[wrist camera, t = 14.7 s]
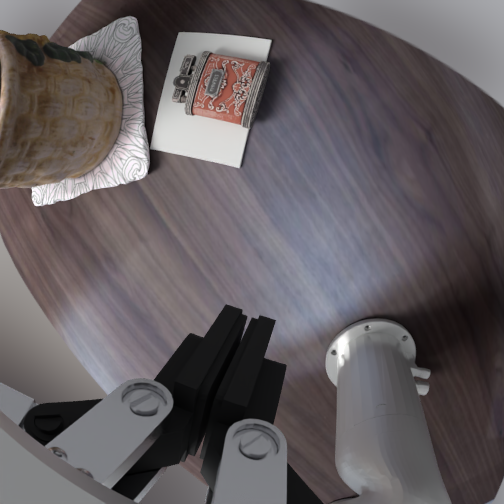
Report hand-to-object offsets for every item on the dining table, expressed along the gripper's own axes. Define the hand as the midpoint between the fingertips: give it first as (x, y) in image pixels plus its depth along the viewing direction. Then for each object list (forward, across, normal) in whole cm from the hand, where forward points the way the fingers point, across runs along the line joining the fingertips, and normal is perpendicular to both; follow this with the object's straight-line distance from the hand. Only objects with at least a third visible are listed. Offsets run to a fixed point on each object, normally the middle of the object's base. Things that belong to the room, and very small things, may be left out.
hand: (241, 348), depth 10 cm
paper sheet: (+27, +14, -11) cm, 32 cm away
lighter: (+25, +7, -12) cm, 29 cm away
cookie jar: (+27, +34, -6) cm, 44 cm away
